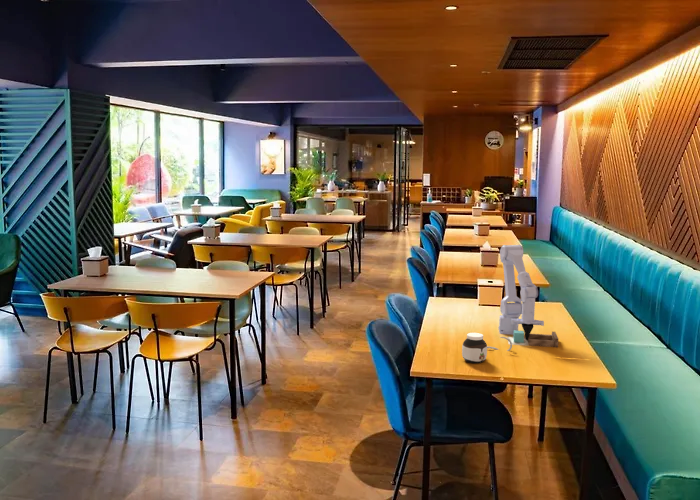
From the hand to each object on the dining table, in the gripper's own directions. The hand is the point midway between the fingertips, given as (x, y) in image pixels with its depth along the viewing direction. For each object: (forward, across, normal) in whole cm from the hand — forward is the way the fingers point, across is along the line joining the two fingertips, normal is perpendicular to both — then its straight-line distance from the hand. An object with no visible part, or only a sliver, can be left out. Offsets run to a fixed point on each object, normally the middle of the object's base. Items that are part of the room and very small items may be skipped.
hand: (526, 339), depth 294 cm
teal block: (+1, -4, 0) cm, 4 cm away
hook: (+2, -17, -14) cm, 23 cm away
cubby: (+2, +2, 0) cm, 3 cm away
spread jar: (+2, -25, -30) cm, 39 cm away
